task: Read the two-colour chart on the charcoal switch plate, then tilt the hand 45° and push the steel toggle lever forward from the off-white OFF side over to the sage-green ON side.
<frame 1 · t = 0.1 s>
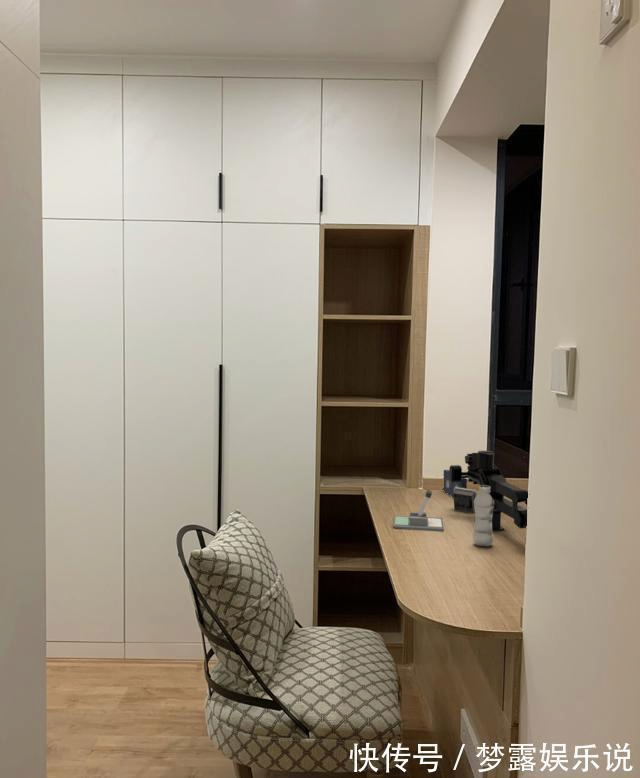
hand: (463, 468, 250), 17 cm above the table, tool horizontal, fingers open, 9 cm apart
switch plate: (418, 524, 230), on the table
plastic bottle: (482, 546, 207), on the table
electrical switch: (465, 511, 249), on the table
vhs cassette tape: (454, 497, 271), on the table
lever: (423, 506, 229), point 7 cm above the table, hinge at -20.0°
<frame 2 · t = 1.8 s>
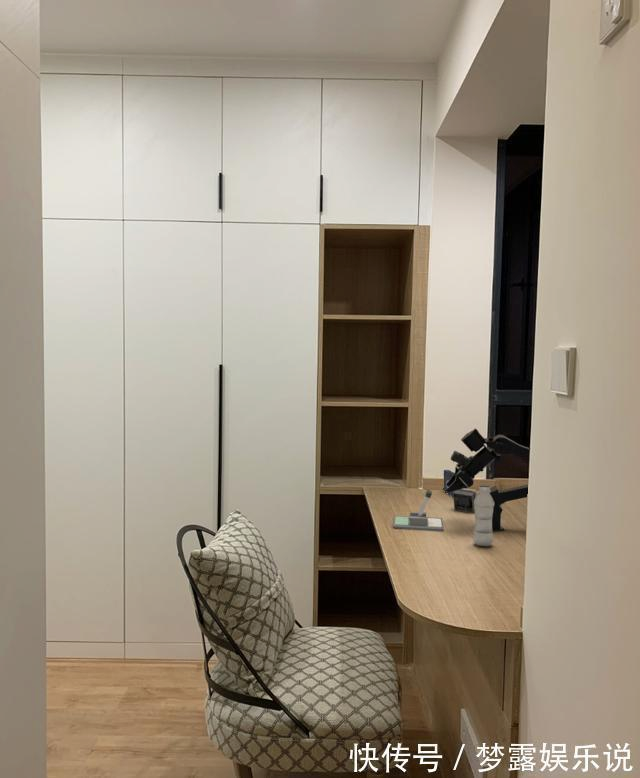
hand: (447, 488, 228), 14 cm above the table, tool tilted 45°, fingers open, 9 cm apart
nothing on the table moved.
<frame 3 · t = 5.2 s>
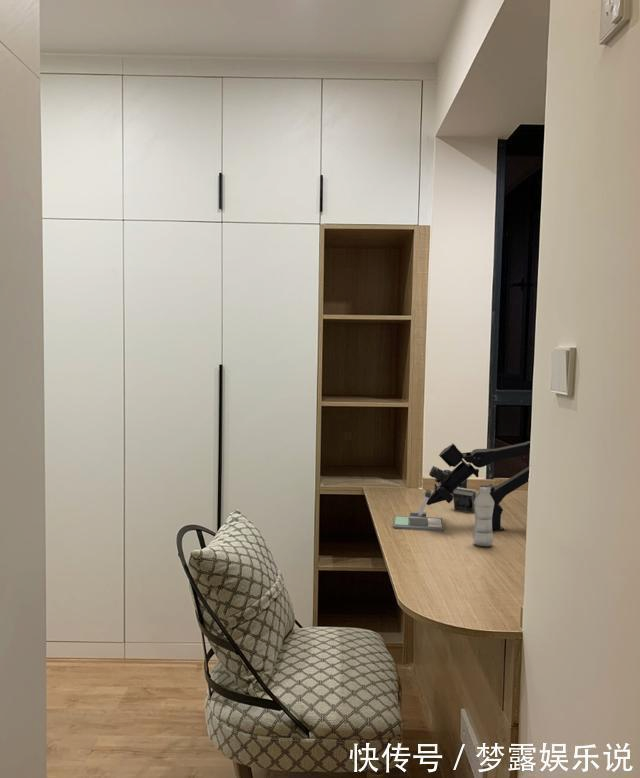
hand: (426, 504, 229), 8 cm above the table, tool tilted 45°, fingers closed, pressing on lever
lever: (423, 506, 229), point 7 cm above the table, hinge at -18.6°, touching gripper
everything else where it was.
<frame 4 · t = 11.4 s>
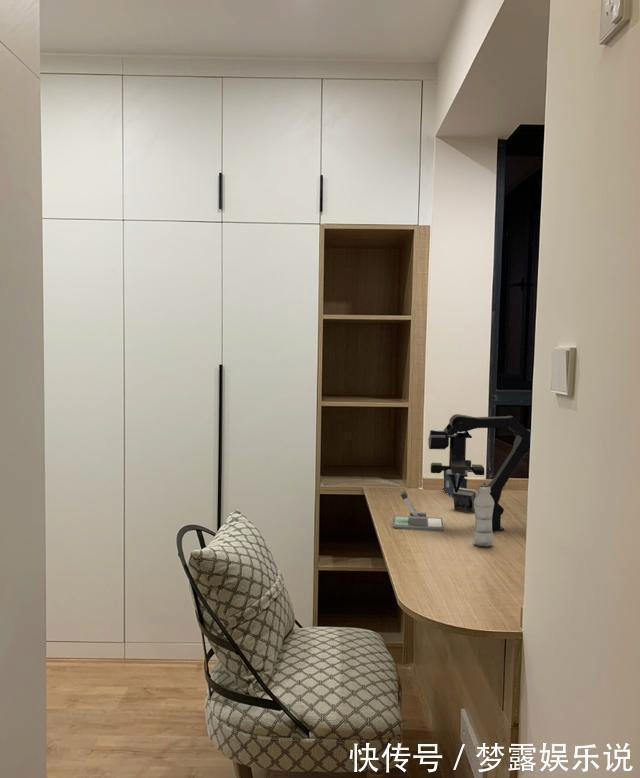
hand: (456, 492, 225), 13 cm above the table, tool pointing down, fingers closed
lever: (411, 506, 230), point 6 cm above the table, hinge at 31.2°
everything else where it was.
at the end: lever at +31° (first picture: -20°); electrical switch moved 0.3 cm from its start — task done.
